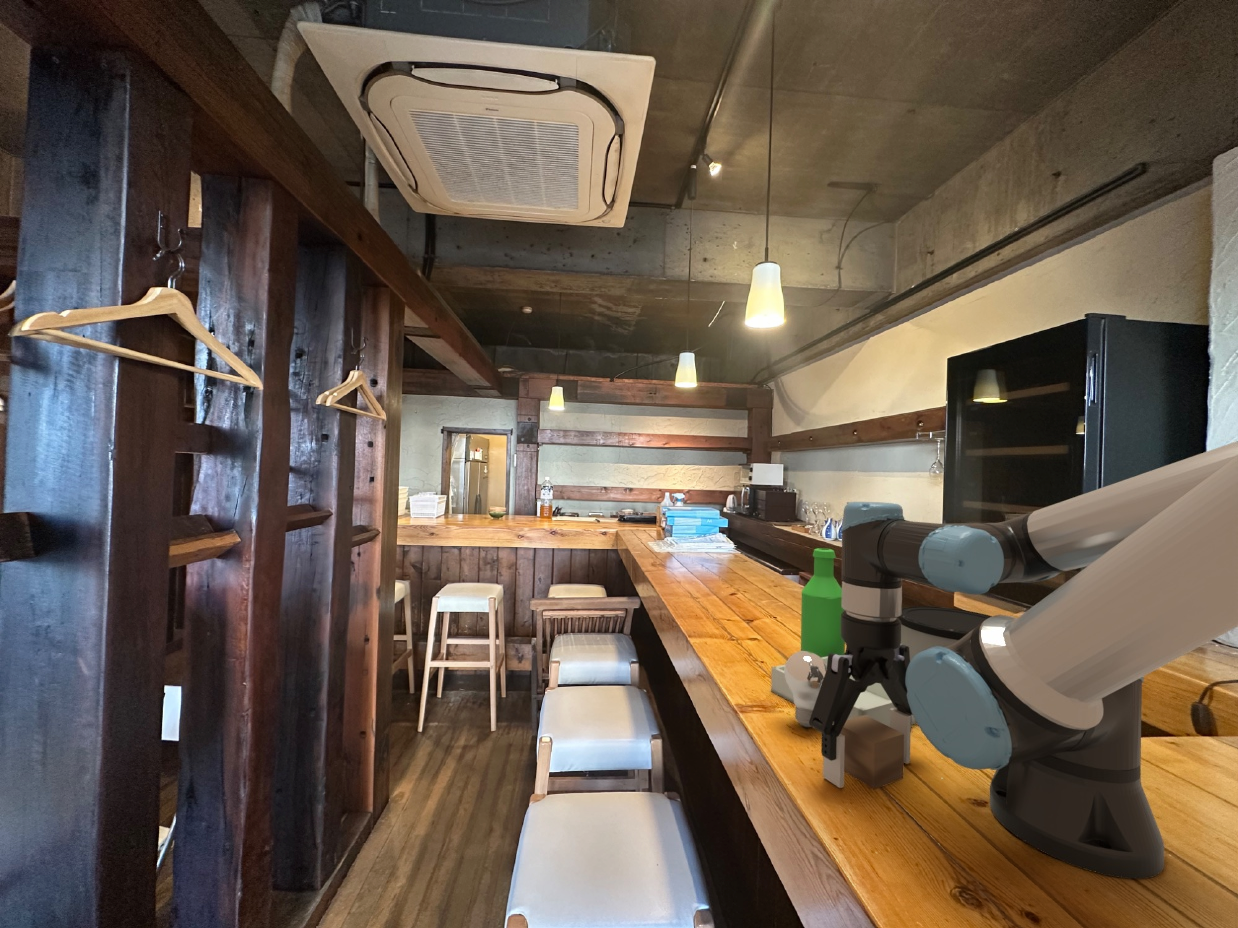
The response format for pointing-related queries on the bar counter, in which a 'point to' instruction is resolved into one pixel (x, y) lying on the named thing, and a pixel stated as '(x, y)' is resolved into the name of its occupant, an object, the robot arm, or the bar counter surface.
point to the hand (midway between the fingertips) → (867, 769)
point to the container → (935, 626)
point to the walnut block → (873, 751)
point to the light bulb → (804, 682)
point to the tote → (867, 703)
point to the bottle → (822, 608)
